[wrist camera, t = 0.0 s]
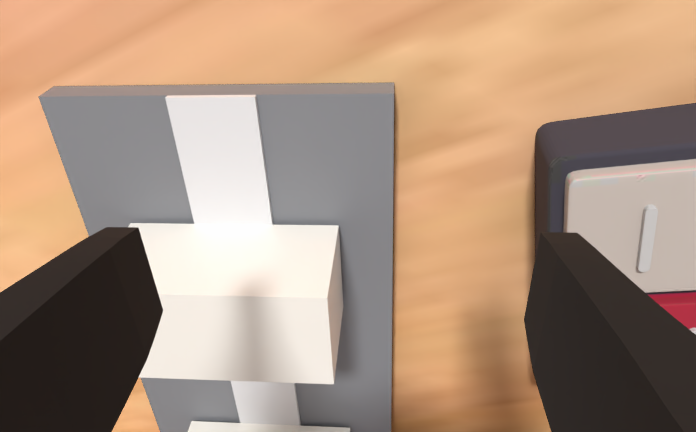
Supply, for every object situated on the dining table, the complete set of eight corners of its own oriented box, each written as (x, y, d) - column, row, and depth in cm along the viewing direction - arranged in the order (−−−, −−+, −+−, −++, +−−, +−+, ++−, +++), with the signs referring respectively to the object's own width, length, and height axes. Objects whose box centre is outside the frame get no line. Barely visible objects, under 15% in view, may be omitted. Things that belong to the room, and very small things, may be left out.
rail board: (390, 505, 33) (390, 526, 32) (194, 495, 34) (188, 514, 33) (394, 82, 18) (394, 95, 17) (53, 86, 19) (35, 98, 18)
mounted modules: (352, 474, 29) (347, 555, 26) (205, 467, 30) (181, 544, 26) (338, 225, 20) (327, 298, 17) (130, 223, 21) (79, 292, 18)
